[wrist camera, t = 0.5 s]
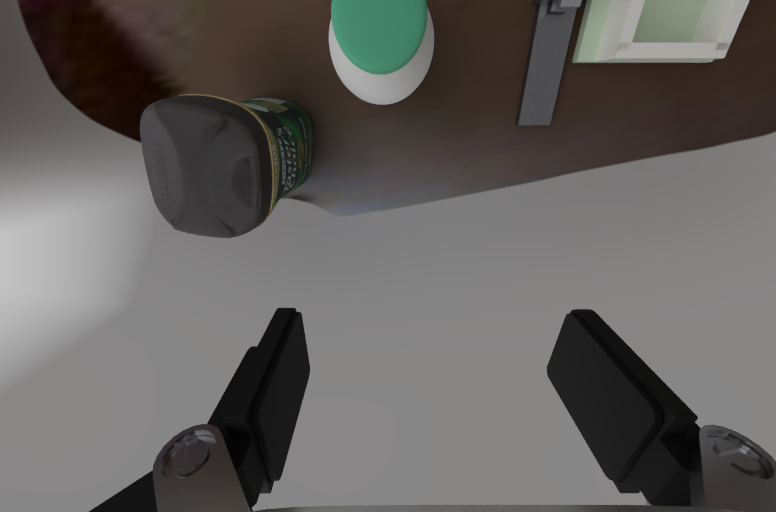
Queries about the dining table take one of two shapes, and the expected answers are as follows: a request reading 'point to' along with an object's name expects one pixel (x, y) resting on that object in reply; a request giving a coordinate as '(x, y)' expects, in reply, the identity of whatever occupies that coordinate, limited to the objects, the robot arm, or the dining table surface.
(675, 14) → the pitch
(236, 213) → the coffee jar
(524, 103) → the rail
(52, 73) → the dining table surface
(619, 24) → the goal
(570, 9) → the grey l-shaped bar
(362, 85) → the milk bottle
